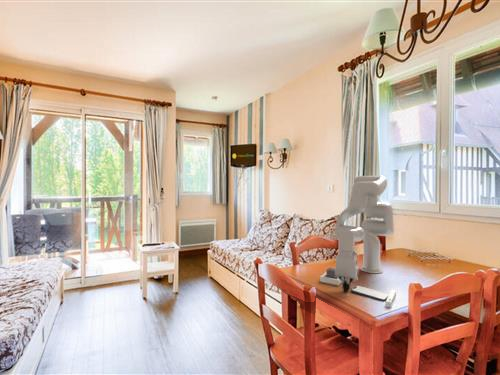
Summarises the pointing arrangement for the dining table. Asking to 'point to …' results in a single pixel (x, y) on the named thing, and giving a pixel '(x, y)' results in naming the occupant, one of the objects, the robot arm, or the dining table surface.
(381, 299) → the phone case
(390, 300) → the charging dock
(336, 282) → the white square shallow tray
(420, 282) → the dining table surface
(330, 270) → the plug
